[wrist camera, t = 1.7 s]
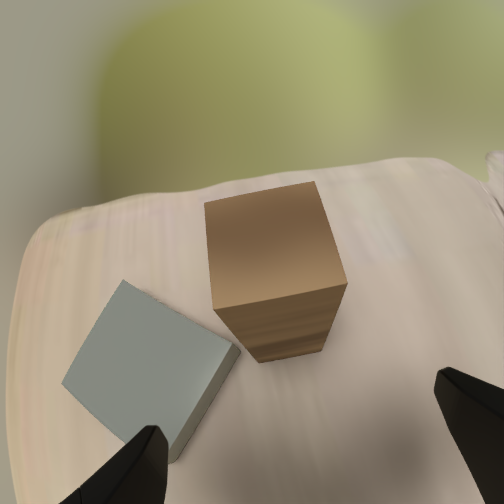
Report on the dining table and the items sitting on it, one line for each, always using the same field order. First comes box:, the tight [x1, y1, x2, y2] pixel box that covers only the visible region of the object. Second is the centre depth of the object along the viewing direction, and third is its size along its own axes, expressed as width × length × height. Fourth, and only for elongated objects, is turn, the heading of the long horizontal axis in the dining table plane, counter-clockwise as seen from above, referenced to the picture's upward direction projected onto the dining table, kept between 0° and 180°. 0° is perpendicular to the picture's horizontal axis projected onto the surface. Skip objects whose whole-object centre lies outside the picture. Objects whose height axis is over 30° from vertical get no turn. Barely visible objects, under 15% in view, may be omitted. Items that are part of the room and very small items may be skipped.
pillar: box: [204, 181, 348, 363], centre depth 16 cm, size 4×4×12 cm
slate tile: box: [61, 280, 241, 464], centre depth 20 cm, size 10×10×3 cm
